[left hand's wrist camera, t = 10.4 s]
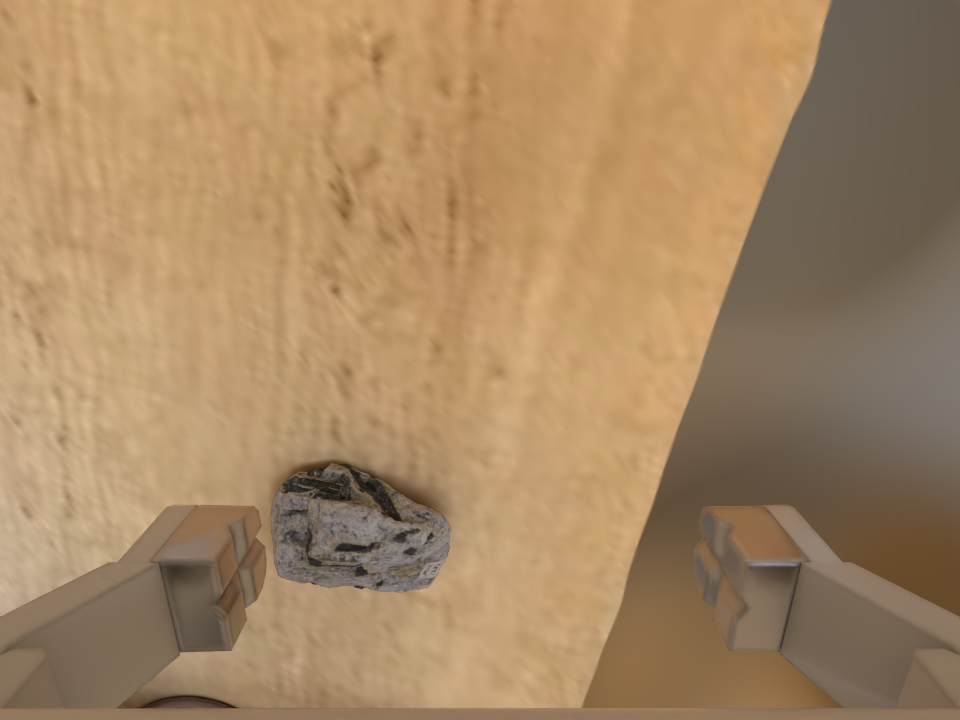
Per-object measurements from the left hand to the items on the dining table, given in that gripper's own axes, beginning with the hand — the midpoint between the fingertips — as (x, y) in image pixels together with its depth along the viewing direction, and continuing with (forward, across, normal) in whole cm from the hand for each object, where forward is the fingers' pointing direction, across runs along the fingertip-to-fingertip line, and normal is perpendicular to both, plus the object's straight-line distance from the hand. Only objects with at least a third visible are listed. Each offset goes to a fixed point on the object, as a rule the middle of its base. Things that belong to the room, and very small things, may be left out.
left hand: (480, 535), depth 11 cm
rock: (+33, +10, +23) cm, 41 cm away
